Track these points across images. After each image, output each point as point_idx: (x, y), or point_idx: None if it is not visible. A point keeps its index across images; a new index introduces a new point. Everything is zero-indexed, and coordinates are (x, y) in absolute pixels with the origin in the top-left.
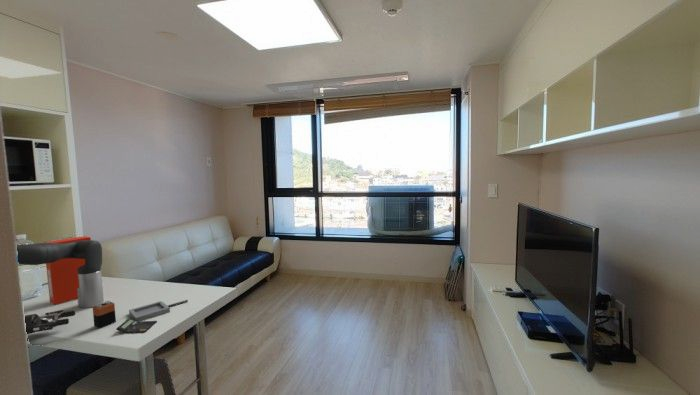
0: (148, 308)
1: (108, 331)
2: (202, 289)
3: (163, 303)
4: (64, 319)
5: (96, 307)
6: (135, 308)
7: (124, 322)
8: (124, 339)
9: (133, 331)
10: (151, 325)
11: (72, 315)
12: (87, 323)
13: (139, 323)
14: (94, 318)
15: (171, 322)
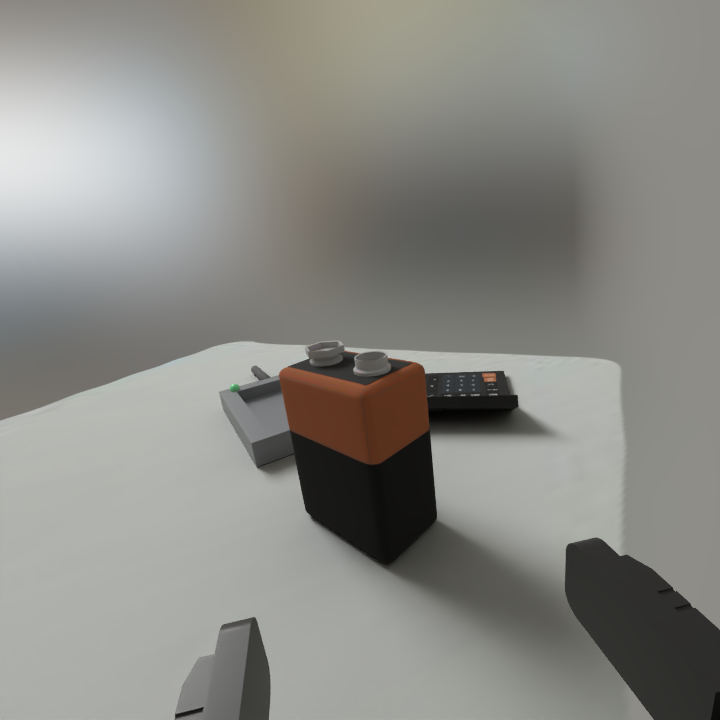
0: (256, 416)
1: (487, 464)
2: (160, 374)
3: (260, 381)
4: (629, 561)
5: (395, 371)
6: (248, 428)
7: (451, 396)
8: (570, 395)
9: (504, 389)
10: (452, 373)
11: (268, 703)
12: (273, 673)
13: None
14: (394, 487)
15: (428, 359)
